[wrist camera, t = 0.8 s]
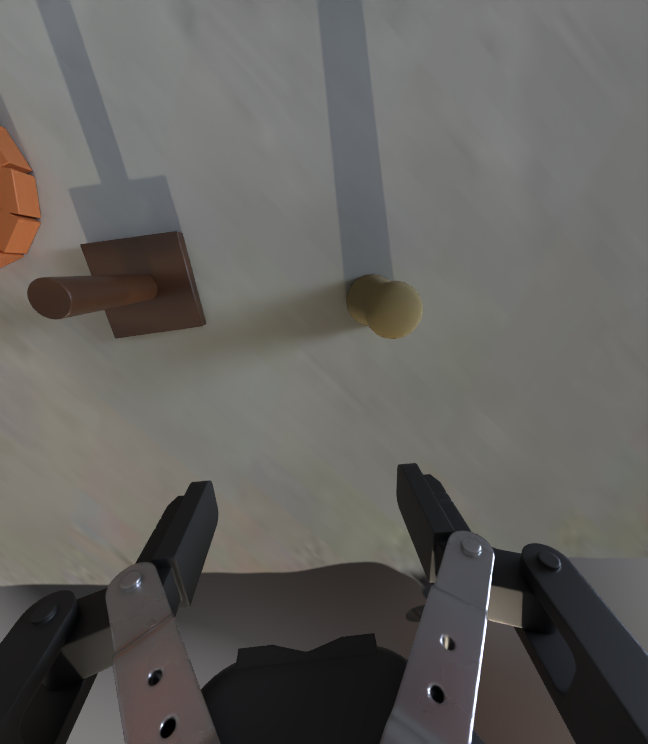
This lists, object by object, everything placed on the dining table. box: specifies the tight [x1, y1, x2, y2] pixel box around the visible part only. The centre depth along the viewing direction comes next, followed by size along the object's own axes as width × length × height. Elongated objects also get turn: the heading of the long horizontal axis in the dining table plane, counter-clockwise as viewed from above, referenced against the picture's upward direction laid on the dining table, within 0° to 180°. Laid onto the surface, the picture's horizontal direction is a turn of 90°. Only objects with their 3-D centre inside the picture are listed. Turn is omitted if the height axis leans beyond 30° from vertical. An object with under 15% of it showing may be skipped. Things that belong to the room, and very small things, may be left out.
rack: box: [27, 231, 206, 338], centre depth 27 cm, size 10×10×14 cm
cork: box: [347, 274, 423, 339], centre depth 31 cm, size 6×6×11 cm
